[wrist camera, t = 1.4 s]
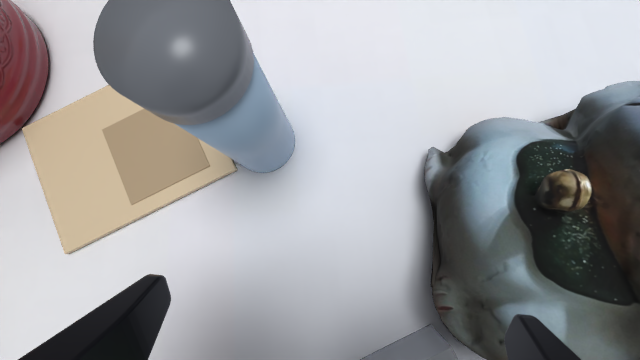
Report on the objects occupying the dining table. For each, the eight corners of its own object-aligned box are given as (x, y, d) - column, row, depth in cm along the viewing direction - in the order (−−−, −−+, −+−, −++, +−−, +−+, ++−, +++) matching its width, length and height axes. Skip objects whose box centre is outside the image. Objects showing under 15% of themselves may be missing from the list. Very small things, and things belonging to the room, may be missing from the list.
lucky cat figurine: (424, 107, 23) (717, -111, 10) (548, 168, 26) (875, 57, 14) (401, 347, 16) (1035, 489, 4) (566, 386, 20) (1178, 526, 8)
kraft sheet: (69, 253, 23) (63, 254, 22) (26, 129, 25) (20, 127, 24) (237, 170, 23) (235, 168, 22) (183, 52, 25) (180, 48, 24)
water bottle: (247, 185, 23) (123, 130, 10) (221, 128, 23) (74, 7, 11) (307, 155, 23) (260, 62, 10) (279, 99, 23) (201, -56, 11)
